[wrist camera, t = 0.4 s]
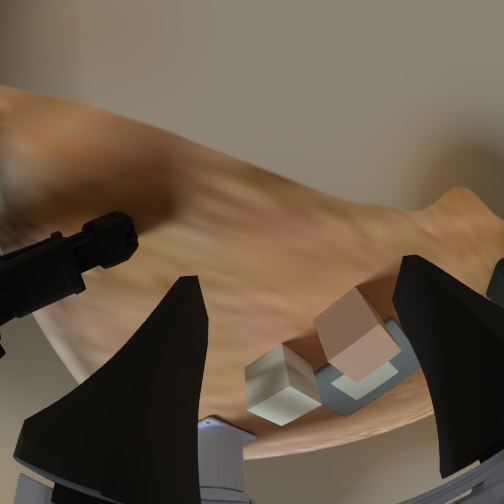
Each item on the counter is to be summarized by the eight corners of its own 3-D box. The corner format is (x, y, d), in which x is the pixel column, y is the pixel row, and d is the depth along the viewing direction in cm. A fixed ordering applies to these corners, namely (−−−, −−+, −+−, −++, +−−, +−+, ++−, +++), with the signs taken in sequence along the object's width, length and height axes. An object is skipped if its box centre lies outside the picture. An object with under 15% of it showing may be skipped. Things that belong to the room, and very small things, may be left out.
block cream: (275, 386, 27) (281, 425, 22) (244, 367, 25) (246, 410, 21) (310, 363, 26) (322, 404, 21) (281, 342, 24) (289, 385, 20)
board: (344, 414, 30) (345, 417, 30) (292, 385, 27) (293, 389, 26) (423, 361, 27) (425, 363, 27) (390, 316, 24) (392, 319, 23)
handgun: (29, 204, 26) (-67, 258, 14) (148, 191, 16) (-76, 322, 4) (39, 239, 28) (-51, 297, 16) (163, 258, 18) (-19, 405, 6)
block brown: (340, 343, 25) (356, 383, 20) (312, 319, 23) (327, 361, 19) (378, 314, 24) (401, 350, 19) (354, 285, 22) (379, 323, 17)
